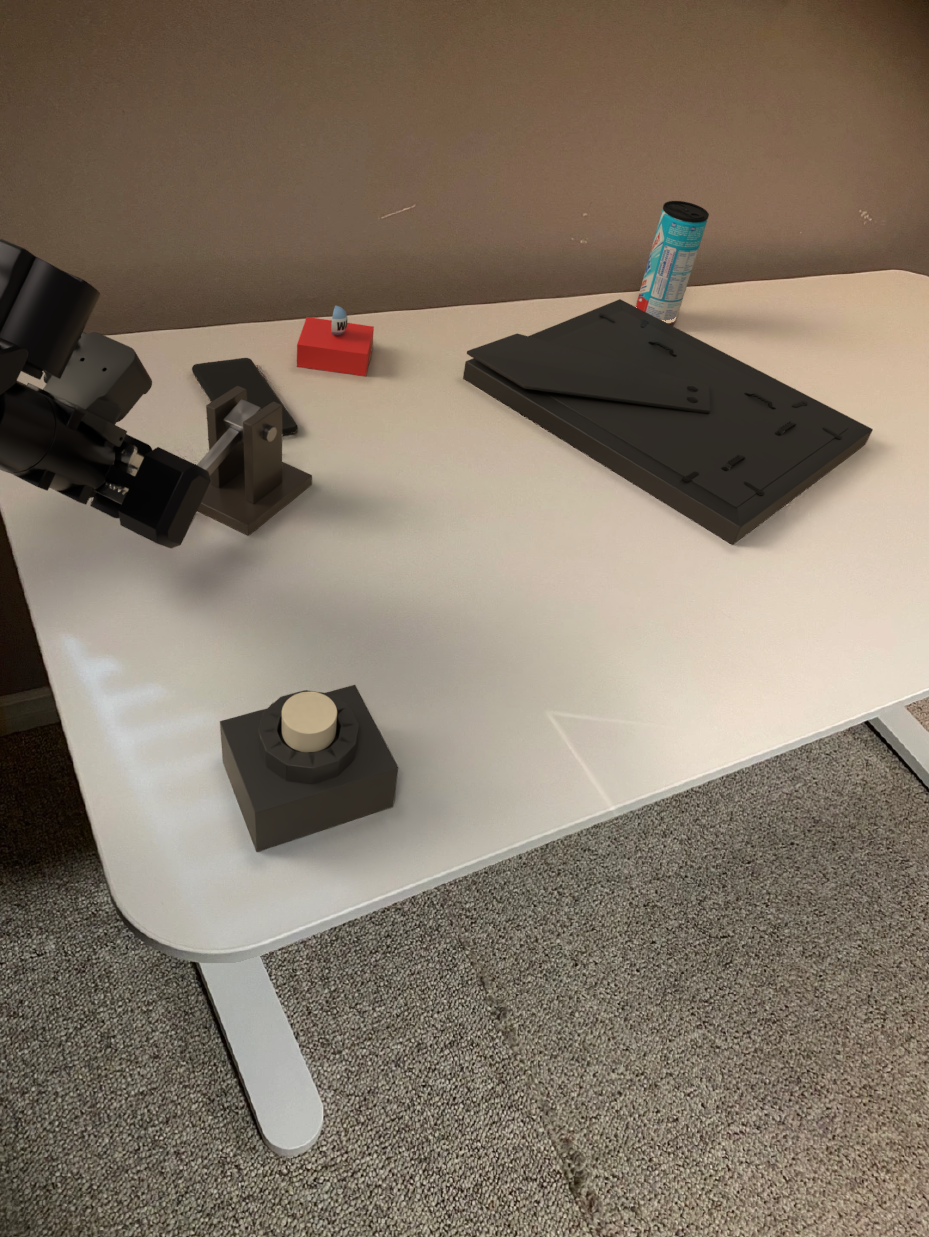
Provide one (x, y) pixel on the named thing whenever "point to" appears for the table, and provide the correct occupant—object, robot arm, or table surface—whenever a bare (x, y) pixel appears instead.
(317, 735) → the stop button
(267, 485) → the switch bracket
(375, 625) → the table surface
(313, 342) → the red low topped box
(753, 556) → the table surface
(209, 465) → the power switch
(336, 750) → the block
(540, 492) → the table surface
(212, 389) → the smartphone
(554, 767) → the table surface
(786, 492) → the picture frame
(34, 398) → the robot arm
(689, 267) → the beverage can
